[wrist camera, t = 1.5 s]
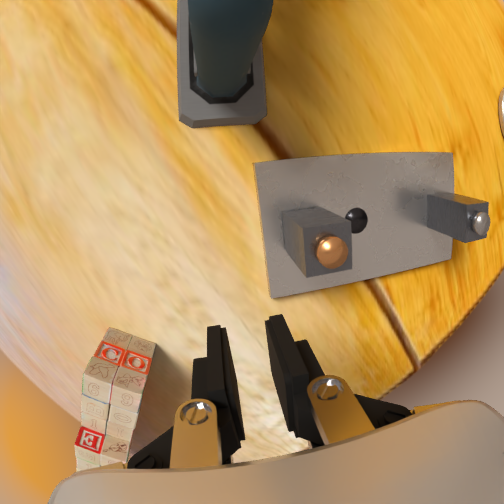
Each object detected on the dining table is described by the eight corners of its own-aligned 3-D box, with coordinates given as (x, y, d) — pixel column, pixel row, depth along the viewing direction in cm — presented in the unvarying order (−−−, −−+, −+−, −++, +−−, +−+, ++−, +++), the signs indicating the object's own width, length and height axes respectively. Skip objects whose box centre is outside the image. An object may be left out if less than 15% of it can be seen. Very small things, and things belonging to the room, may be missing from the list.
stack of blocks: (108, 324, 32) (72, 393, 20) (157, 342, 33) (139, 418, 21) (94, 426, 37) (76, 485, 25) (131, 438, 38) (120, 499, 26)
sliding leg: (320, 206, 29) (356, 224, 21) (323, 245, 30) (357, 273, 23) (281, 212, 29) (306, 231, 21) (285, 251, 30) (310, 282, 22)
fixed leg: (449, 192, 31) (494, 203, 23) (448, 223, 32) (492, 240, 24) (426, 194, 30) (473, 206, 23) (426, 227, 32) (471, 245, 24)
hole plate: (446, 152, 30) (452, 152, 29) (445, 256, 35) (451, 258, 34) (252, 163, 28) (254, 163, 27) (269, 293, 33) (271, 298, 32)
